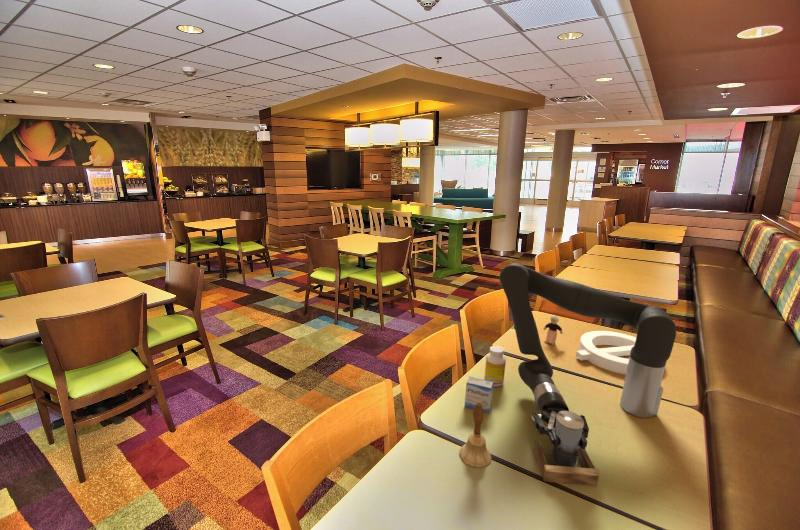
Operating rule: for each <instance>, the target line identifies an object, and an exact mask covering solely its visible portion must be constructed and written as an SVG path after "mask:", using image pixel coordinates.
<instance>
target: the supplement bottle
mask: <svg viewBox="0 0 800 530" xmlns="http://www.w3.org/2000/svg"><path fill="white" fill-rule="evenodd" d="M504 353H505V350H504V348H503V347H502V346H499V345H492V346H490V347H489V353H487V354H486V355H485V356H486V357H485V366H484V367H485V368H484V376H483V377H484V378H483V380H487V381H492V382H494V384H493V387H494V388H495V387H501V386H503V385H504V381H505V372H506V362H507V359H506V356H505V355H504Z"/></svg>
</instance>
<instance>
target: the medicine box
mask: <svg viewBox="0 0 800 530" xmlns="http://www.w3.org/2000/svg"><path fill="white" fill-rule="evenodd" d="M465 384H466V385H465V396H464V407H465V408H470V409H473V410H474V409H475V407H476V404H477V403H481V404H482V408H483V411H484V413H490V411H491V407H492V403H493V393H494V386H493V384H494V382H492V381H487V380H484V378H478V377H475V376H470V375H469V376H468V378H467V380H466V382H465Z"/></svg>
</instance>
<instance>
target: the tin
mask: <svg viewBox="0 0 800 530" xmlns="http://www.w3.org/2000/svg"><path fill="white" fill-rule="evenodd" d="M583 426H584V421H583V419H582V418H581V417H580V414H577V413H576V412H573V411H570V410H569V411H560V412H558V413H557V416H556V425H555V428H554V431H555V434H556V436H557V438H558V447H554V445H552V444H551V446H552V447H551V450H550V451H551V453H550V458H551V461H552V462H553V463H554V464H555V466H566V467H577V461H578V451H579V446H580V440H581V435H582V429H583Z"/></svg>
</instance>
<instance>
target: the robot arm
mask: <svg viewBox="0 0 800 530" xmlns="http://www.w3.org/2000/svg"><path fill="white" fill-rule="evenodd" d="M498 278H499V283H500V285H501V287H502V288H503V289H502V290H503V292H504V294H505V296H506V299H507V302H508V305H509V308H510V311H511V315H512V316H511V317H512V321H513V325H514V326H513V327H514V331H515V336H516V340H517V341H516V342H517V344H518V349H519V352H520V354H523V355H524V356H525V355H526V356H527V355H530V356H536V357H537V358H535V359H530V360H524V361H522V362H521V363H520V364H519V365H518V367H517V370H518V371H517V372H518V374H519V377H520V379H521V380H522V382H523V383H524V385H526V386H527V387H528V388H530V390H531V391H532V394H533V397H534V398H533V399H534V401H535V404H536V406H537V409H538V411H539V413H537V412H536V411H532V414H531V418H530V419H531V422H532V424H533V425H534V428H535V429H536V431H537V433H538V434H539V435H540V436H544V435H545V436H546V437H547V438H548V439H549V440H548V441H549V443H550V444H551V446H552V445H554V447H558V438H557V436H556V434H555V425H556V416H557V413H558V412H560V411H570V408H569V407H568V405H567V402H566V401H565V399H564V397H563V395H562V393H561V391H560V390H559V389H558V387H557V386H556V384H555V382H554V380H553V379H552V377H553V376H554V370H553V366H552V365H551V363H550V361H549V359H548V358H547V356H546V354H545V352H544V349H543V346H542V343H541V338H540V335H539V331H538V327H537V326H538V325H537V324H536V320H535V317H534V314H533V311H532V306H531V302H530V296H529V294H532V295H536V296H538V297H541V298H543V299H545V300H547V301H549V302H551V303H552V304H554V305H556V306H558V307H560V308H562V309H564V310H566V311H569V312H572V313H575V314H578V315H580V316H584V317H587V318H593V319H594V318H596V319H604V320H605V319H607V320H612V321H613V320H614V321H618V322H620V323H622V324H625V325H628V326H629V327H632V328H634V329H636V330H637V334H636V336H635V337H636V341H635V345H634V346H633V347H632V349H631V352H630V355H629V357H628V359H629V362H628V367H627V372H626V375H625V377H624V381H623V387H622V392H621V395H620V396H621V397H620V400H619V405H620V407H621V408H622V409H623V410H624V411H625V412H627V413H628V414H630V415H633V416H634V417H637V418H644V419H645V418H647V419H649V418H652V417H653V416H658V413H659V408H660V405H661V401H662V397H663V392H664V387H663V386H662V381H663V378H664V373H665V369H666V365H667V361H668V360H669V359H670V358H671V354H672V351H673V347H674V345H675V342H676V341H675V340H676V336H677V326H676V323H675V322H674V320H673V318H672V317H671V316H670V315H669V313H668V312H667V311H666V310H664V309H663V308H661V307H658V306H654V305H649V304H646V303H641V302H636V301H634V300H633V301H632V300H628V299H624V298H621V297H619V296H616V295H614V294H611V293H608V292H605V291H603V290H600V289H597V288H594V287H592V286H588V285H586V284H582V283H580V282H575V281H573V280H569V279H564V278H559V277H555V276H551V275H548V274H544V273H541V272H539V271H538V270H537V271H536V270H535V269H532V268H530V267H528V266H525V265H523V264H521V263H518V262H512V263H508V264H507V265H505V266H504V267H503V268H502V269H501V271H500V273H499V277H498ZM579 416H580V417H581V418H582V419H583V421H584V426H583V429H582V435H581V440H580V447H581V449H585V450H586V448H587V445H588V440H587V439H588V437H589V431H590V428H589V425H588V422H587V419H586V416H585V415H582V414H579ZM545 423H546V424H547V426H545Z"/></svg>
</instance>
